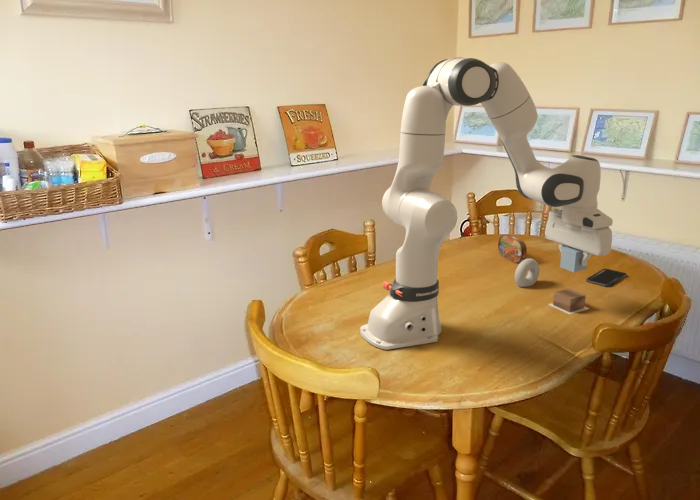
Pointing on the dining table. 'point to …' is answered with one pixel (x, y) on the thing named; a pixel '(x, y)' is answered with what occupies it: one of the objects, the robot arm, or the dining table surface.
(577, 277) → the dining table surface
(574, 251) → the blue block
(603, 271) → the phone
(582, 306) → the walnut block
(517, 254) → the tin
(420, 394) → the dining table surface
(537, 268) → the donut
